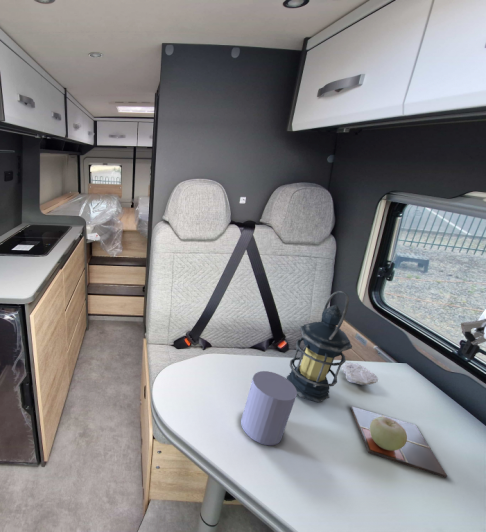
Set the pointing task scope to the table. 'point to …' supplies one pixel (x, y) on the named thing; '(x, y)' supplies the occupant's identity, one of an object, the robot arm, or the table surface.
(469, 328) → the robot arm
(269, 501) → the table surface
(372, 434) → the fruit
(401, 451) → the board
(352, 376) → the fossil
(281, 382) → the container
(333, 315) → the lantern
